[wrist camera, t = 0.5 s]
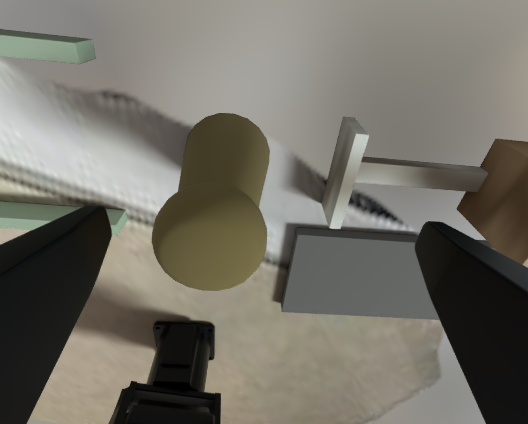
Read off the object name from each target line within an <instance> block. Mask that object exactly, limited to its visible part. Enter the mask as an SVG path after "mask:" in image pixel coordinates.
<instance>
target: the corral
mask: <svg viewBox="0 0 528 424" xmlns="http://www.w3.org/2000/svg"><path fill="white" fill-rule="evenodd" d="M0 56H6V57H17V58H26V59H36V60H45V61H55V62H64V63H65V62H66V63H74V64H81V63H84V62H87V61H90V60H93V59H95V58H96V56H95V52H94V46H93V41H92V39H84V38H76V37H67V36H57V35H48V34H38V33H30V32H20V31H12V30H3V29H0ZM79 208H81V207H72V206H58V205H44V204H30V203H16V202H2V201H0V228H7V229H22V230H34V229H36V228H38V227H40V226H42V225H44V224H47V223H49V222H51V221H53V220H55V219H57V218H60V217H62V216H64V215H66V214H68V213H70V212H73V211H75V210H77V209H79ZM106 211H107V214H108V218H109V221H110V225H111V229H112V235H114V236H118V235H119V234H120V232H121V230H122V229H123V227H124V225H125V224H126V222H127V215H126V210H114V209H106Z"/></svg>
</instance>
